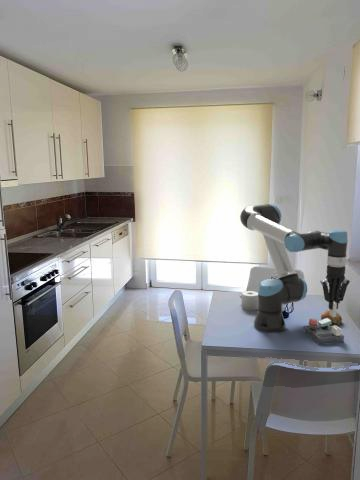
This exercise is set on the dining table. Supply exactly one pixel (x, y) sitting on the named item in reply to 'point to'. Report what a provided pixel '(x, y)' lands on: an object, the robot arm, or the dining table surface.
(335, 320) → the bread roll
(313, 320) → the red button
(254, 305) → the toilet tissue
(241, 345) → the dining table surface
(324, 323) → the rocker
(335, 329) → the slider knob
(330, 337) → the panel
